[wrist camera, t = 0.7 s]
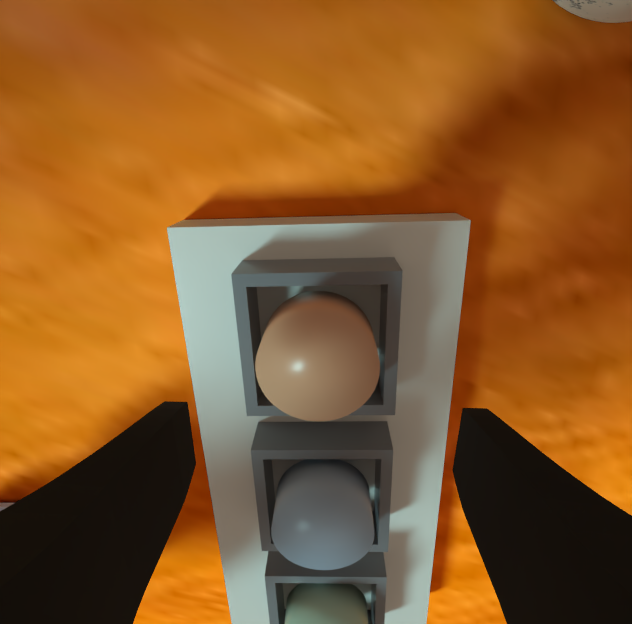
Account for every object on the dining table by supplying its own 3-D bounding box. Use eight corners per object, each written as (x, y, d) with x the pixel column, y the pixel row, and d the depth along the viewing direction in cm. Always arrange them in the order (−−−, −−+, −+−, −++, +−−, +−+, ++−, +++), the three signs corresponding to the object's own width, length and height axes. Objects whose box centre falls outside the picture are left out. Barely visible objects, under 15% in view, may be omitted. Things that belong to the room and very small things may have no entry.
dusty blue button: (280, 527, 20) (274, 569, 18) (274, 457, 19) (267, 495, 17) (368, 527, 20) (373, 570, 18) (370, 456, 18) (375, 494, 16)
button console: (239, 595, 27) (224, 665, 24) (183, 219, 18) (145, 237, 14) (418, 597, 27) (433, 669, 23) (455, 212, 18) (489, 229, 14)
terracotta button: (268, 389, 17) (260, 421, 15) (260, 291, 16) (250, 313, 14) (372, 388, 17) (378, 421, 15) (374, 289, 15) (381, 311, 13)
